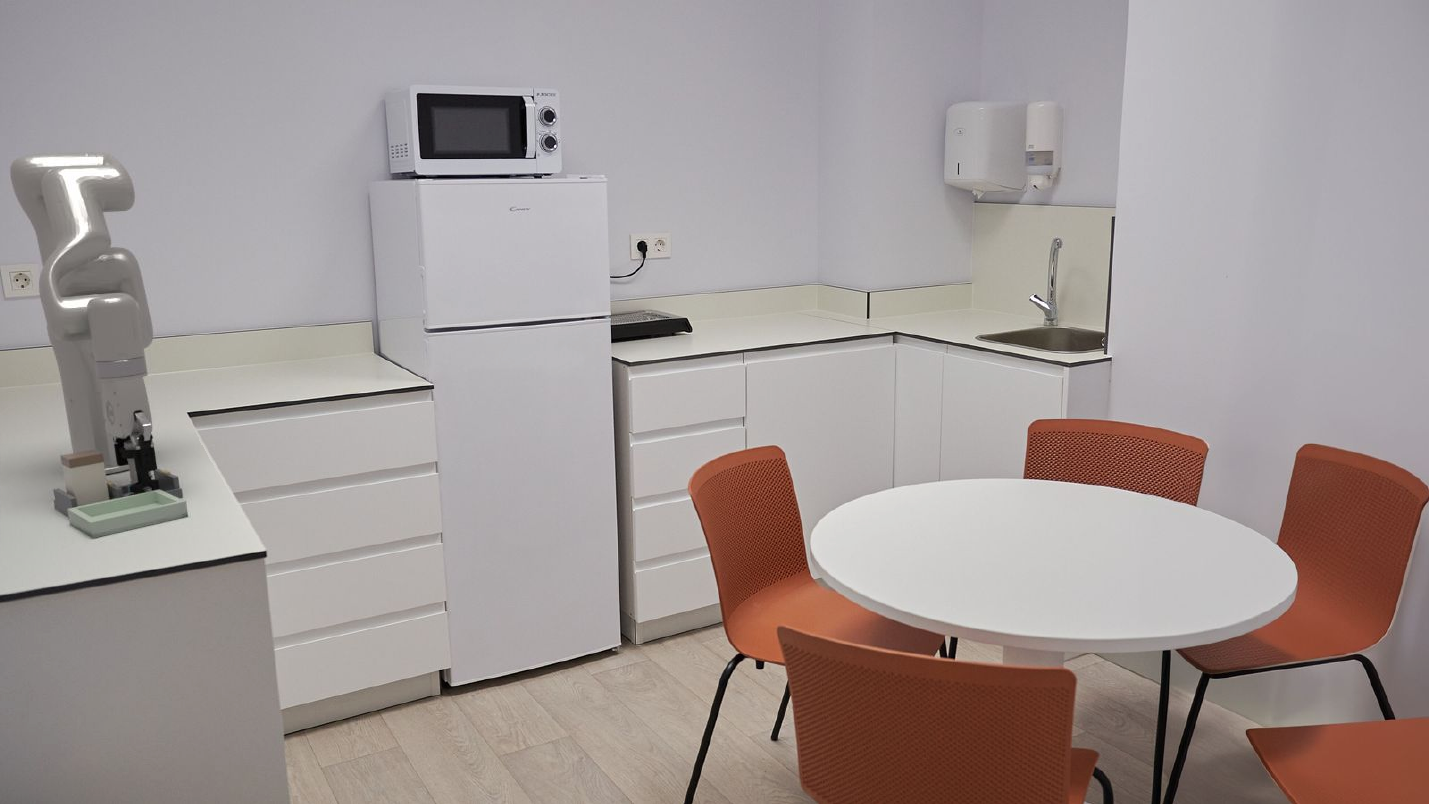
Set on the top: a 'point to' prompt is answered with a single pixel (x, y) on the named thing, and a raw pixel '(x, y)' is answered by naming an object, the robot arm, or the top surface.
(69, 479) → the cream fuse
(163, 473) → the holder
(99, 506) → the tray
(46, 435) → the top surface
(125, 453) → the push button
